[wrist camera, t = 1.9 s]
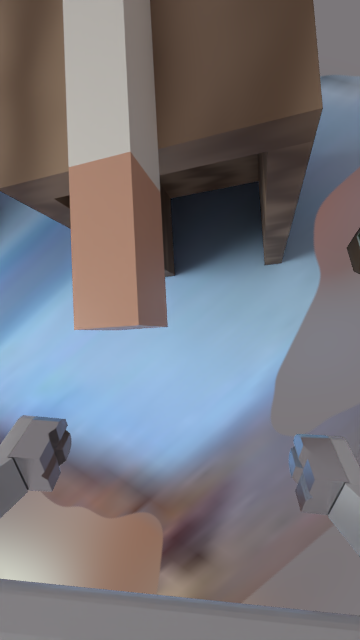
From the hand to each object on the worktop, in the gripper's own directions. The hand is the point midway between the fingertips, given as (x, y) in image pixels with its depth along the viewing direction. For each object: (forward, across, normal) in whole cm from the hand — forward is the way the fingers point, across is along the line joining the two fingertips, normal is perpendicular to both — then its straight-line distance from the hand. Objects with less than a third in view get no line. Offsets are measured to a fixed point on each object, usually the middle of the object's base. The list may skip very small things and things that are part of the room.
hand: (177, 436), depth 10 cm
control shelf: (+33, -2, 0) cm, 33 cm away
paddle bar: (+10, +3, -10) cm, 14 cm away
